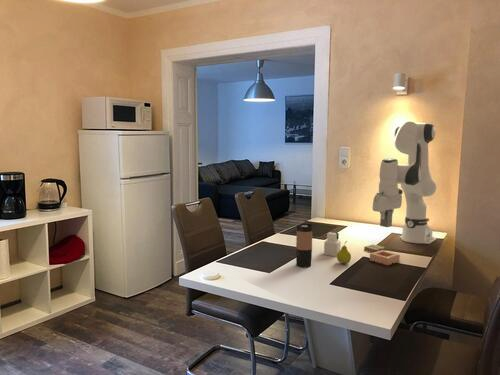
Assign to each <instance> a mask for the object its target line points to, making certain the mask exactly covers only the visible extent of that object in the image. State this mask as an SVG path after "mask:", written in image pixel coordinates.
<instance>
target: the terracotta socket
mask: <svg viewBox="0 0 500 375" xmlns="http://www.w3.org/2000/svg"><path fill="white" fill-rule="evenodd" d="M400 257H401V254H399V253H394V252H390V251H387V250H385V251H383V250H380V251H377V252H374V253H373V252H369V261H370V262H374V261H375V263H377V264H381V263H382V264H381V265H385V266H390V265H393V264H396V263H399V262H400ZM392 263H393V264H392Z"/></svg>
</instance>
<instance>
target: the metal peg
mask: <svg viewBox="0 0 500 375" xmlns="http://www.w3.org/2000/svg"><path fill="white" fill-rule="evenodd" d="M392 212H393V211H392V210H386V211H385V213H384V214H385V216H386V219H381V217H380V221H379V225H380V226H379V227H383V228H391V227H392V226H393V214H392ZM393 213H394V212H393Z"/></svg>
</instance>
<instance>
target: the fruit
mask: <svg viewBox="0 0 500 375" xmlns="http://www.w3.org/2000/svg"><path fill="white" fill-rule="evenodd" d="M347 242H348V241H347V240H346V241H345V242H344V245H342V246H341V247H340V251H339V252H338V253H337V256H336V260H337V261H338V262H339V263H340V264H342V265H346V264H348V263H350V261H351V260H352V255H351V253H350V252H349V251H348V247H347V246H346V245H345V244H346V243H347Z"/></svg>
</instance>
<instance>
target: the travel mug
mask: <svg viewBox="0 0 500 375" xmlns="http://www.w3.org/2000/svg"><path fill="white" fill-rule="evenodd" d="M295 241H296V242H295V243H296V244H295V246H296V247H295V256H296V258H295V259H296V260H295V262H296V267H299V268H310V267H311V266H312V255H313V254H312V253H313V225H312V224H309V223H301V224H297V225H296V240H295Z"/></svg>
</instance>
